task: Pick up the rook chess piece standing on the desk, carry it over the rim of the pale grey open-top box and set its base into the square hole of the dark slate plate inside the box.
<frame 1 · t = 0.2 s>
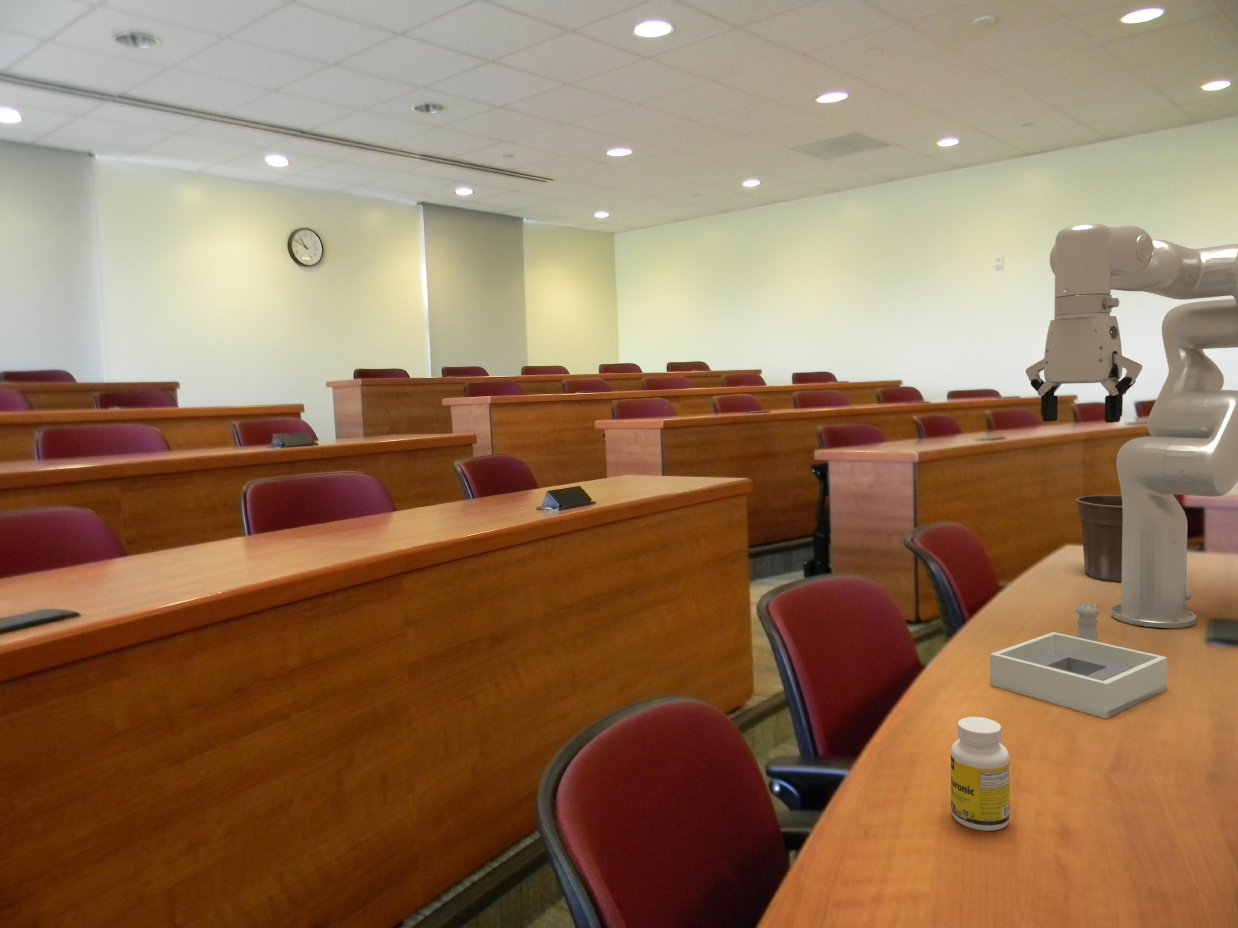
hand: (1080, 421, 134), 36 cm above the table, tool pointing down, fingers open, 9 cm apart
box: (1077, 687, 121), on the table
supplement bottle: (980, 820, 87), on the table
rook chess piece: (1087, 657, 134), on the table
plant pot: (1119, 577, 182), on the table
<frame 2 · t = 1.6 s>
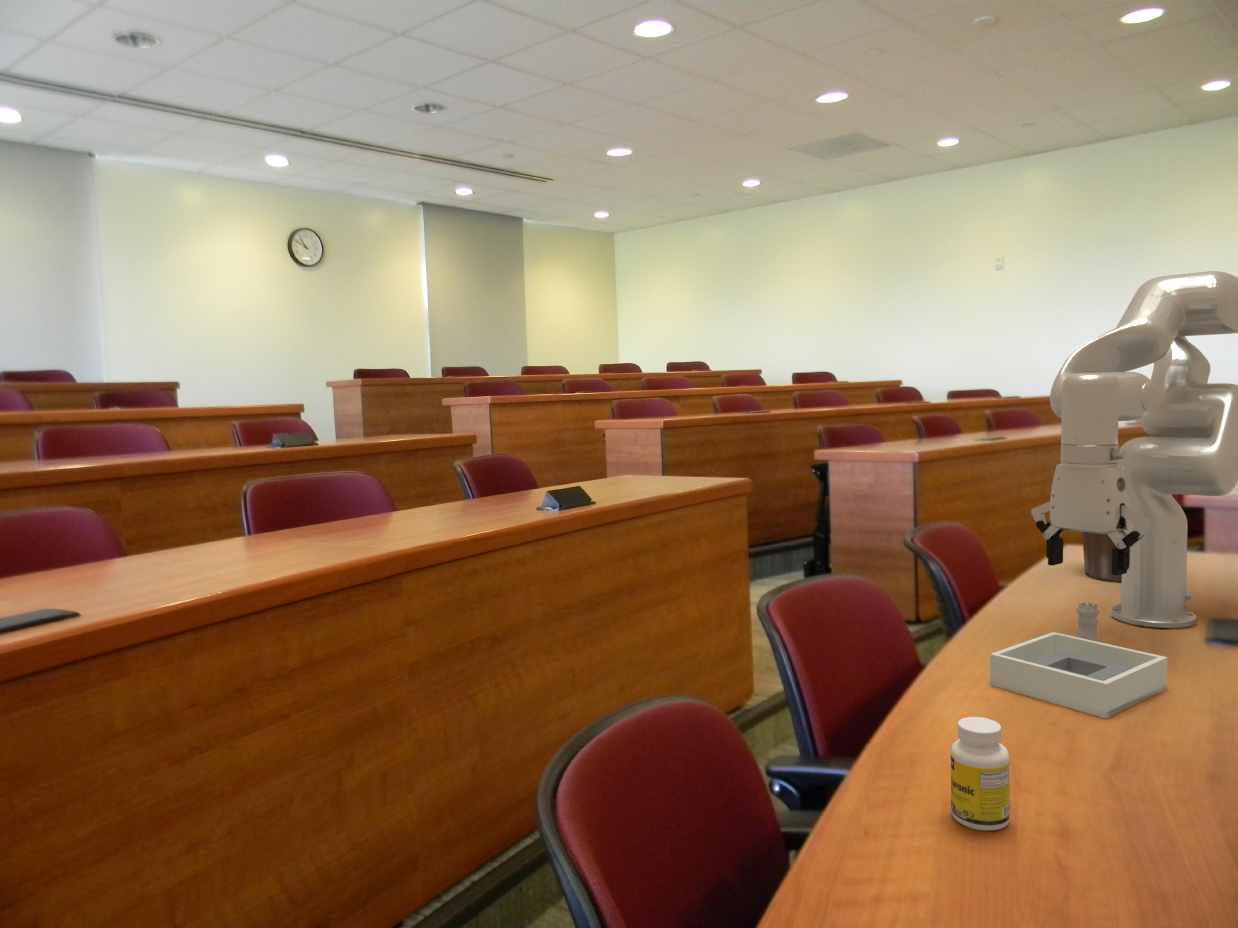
hand: (1086, 569, 132), 14 cm above the table, tool pointing down, fingers open, 9 cm apart
nothing on the table moved.
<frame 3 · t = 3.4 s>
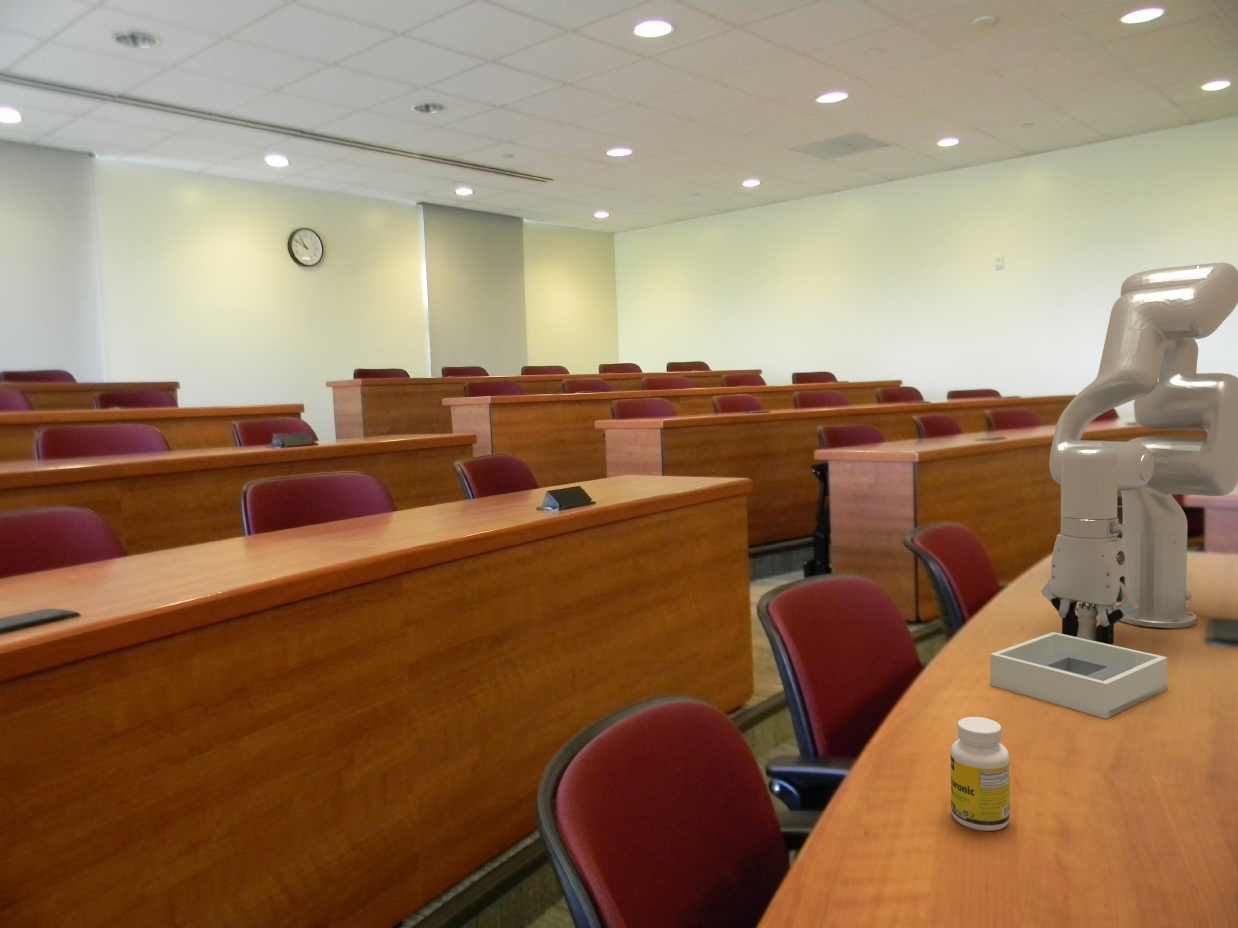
hand: (1087, 644, 134), 2 cm above the table, tool pointing down, fingers closed on rook chess piece, 4 cm apart
rook chess piece: (1087, 657, 134), on the table, touching gripper
everything else where it was.
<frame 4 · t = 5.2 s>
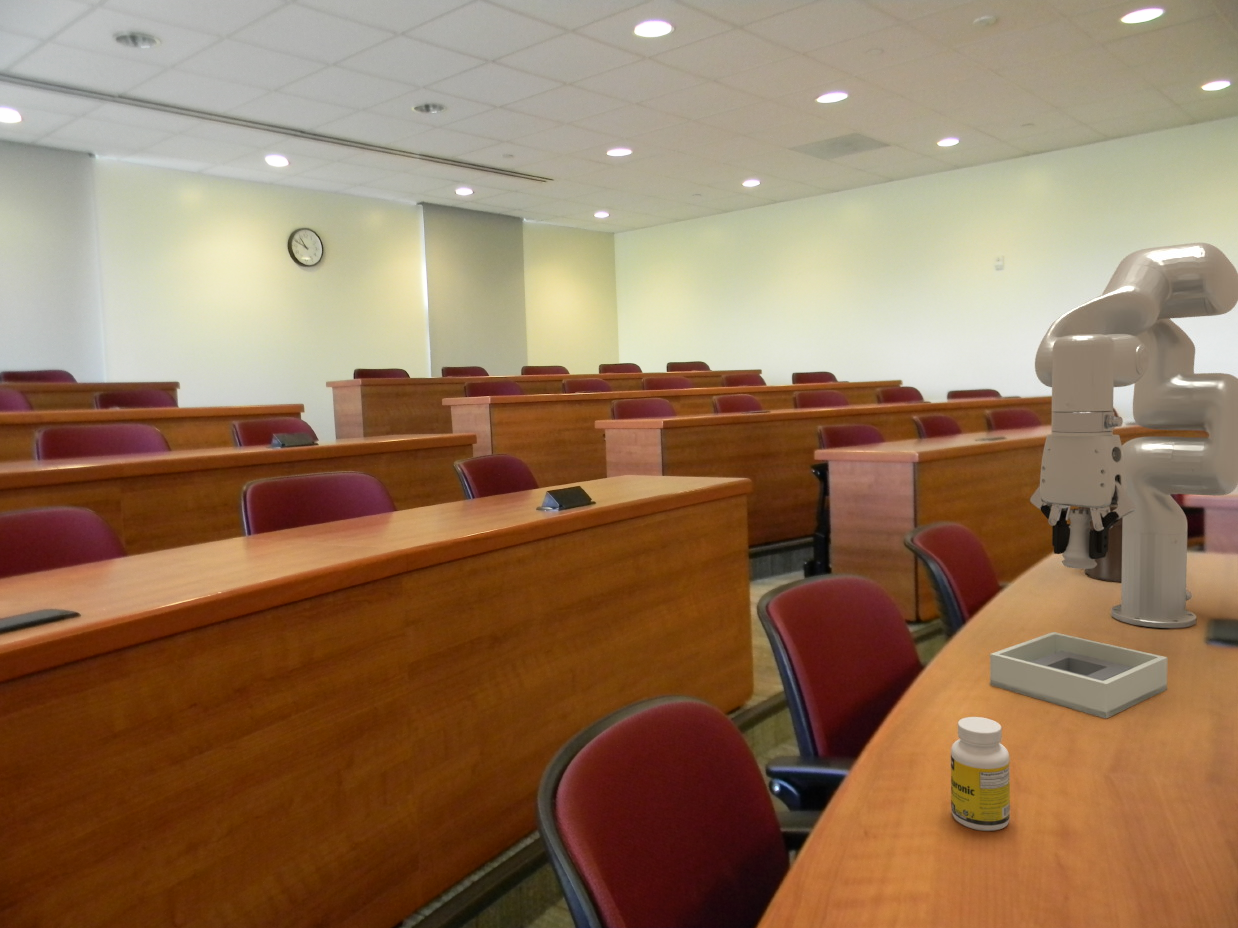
hand: (1079, 553, 122), 18 cm above the table, tool pointing down, fingers closed on rook chess piece, 4 cm apart
rook chess piece: (1079, 567, 122), point 16 cm above the table, touching gripper
everything else where it was.
when the fingers open (4 cm above the table, at t = 7.4 s): rook chess piece drops 1 cm, resting on box.
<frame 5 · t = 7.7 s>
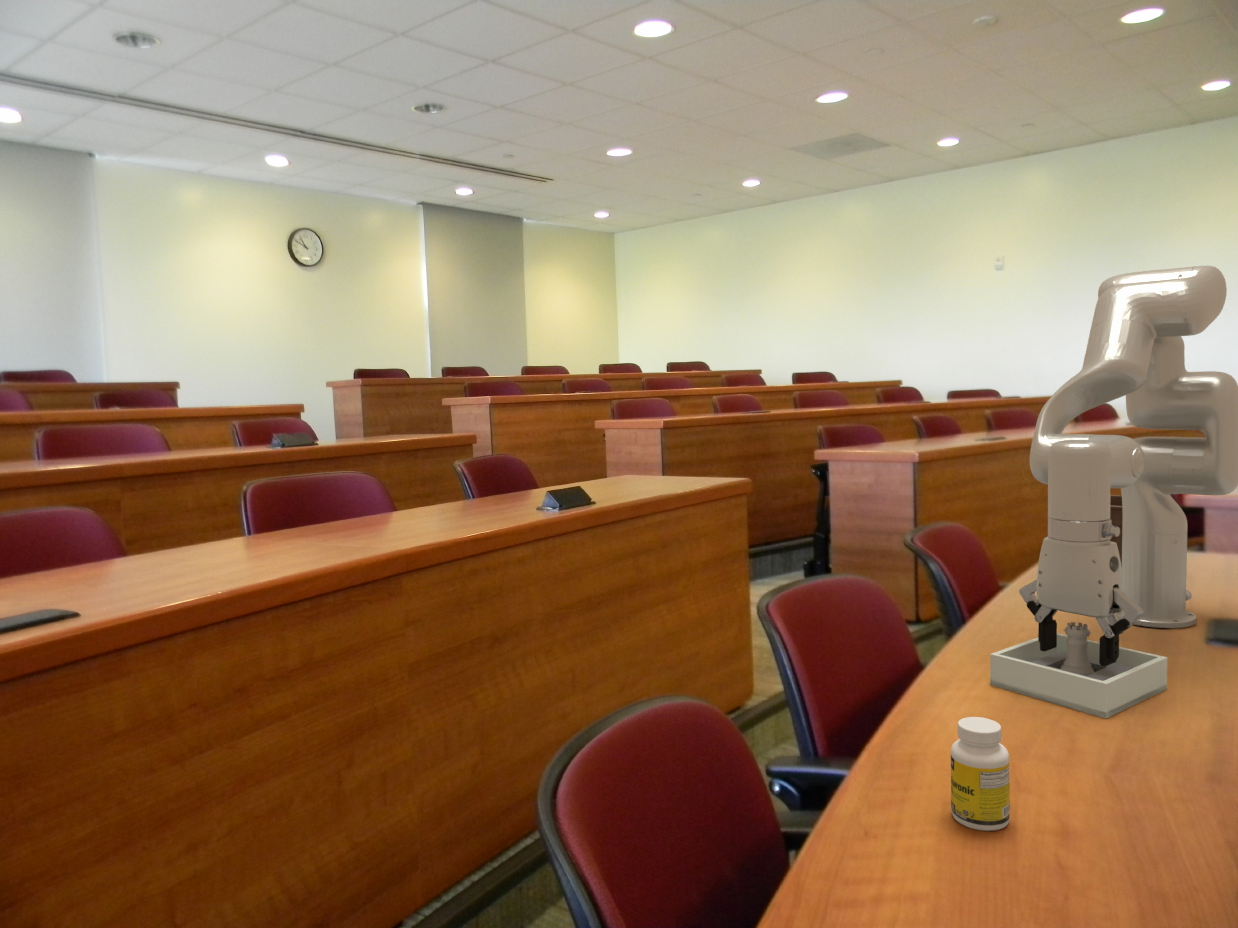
hand: (1077, 655, 121), 5 cm above the table, tool pointing down, fingers open, 7 cm apart
rook chess piece: (1077, 682, 121), point 1 cm above the table, touching box
everything else where it was.
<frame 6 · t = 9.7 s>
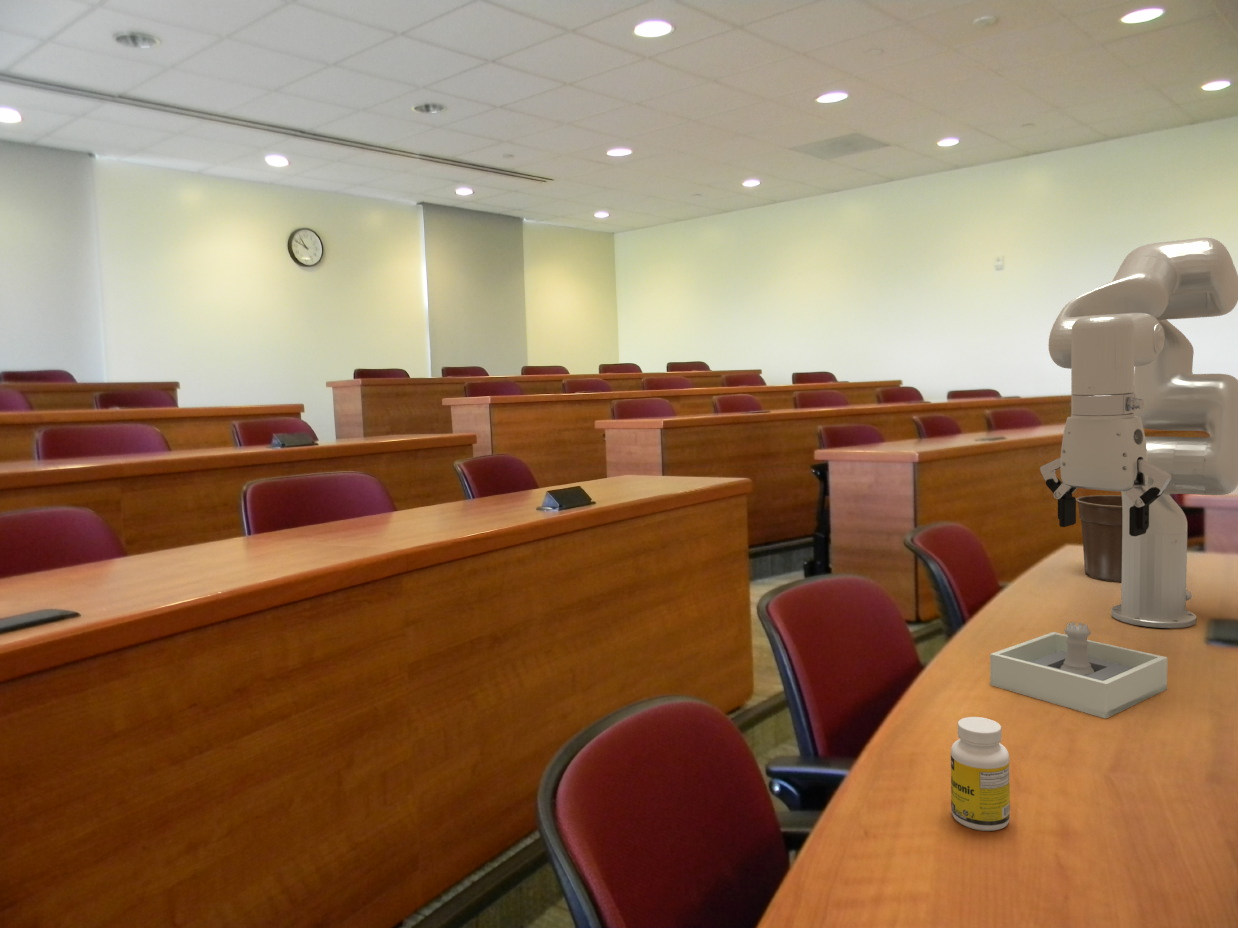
hand: (1101, 529, 121), 22 cm above the table, tool pointing down, fingers open, 9 cm apart
nothing on the table moved.
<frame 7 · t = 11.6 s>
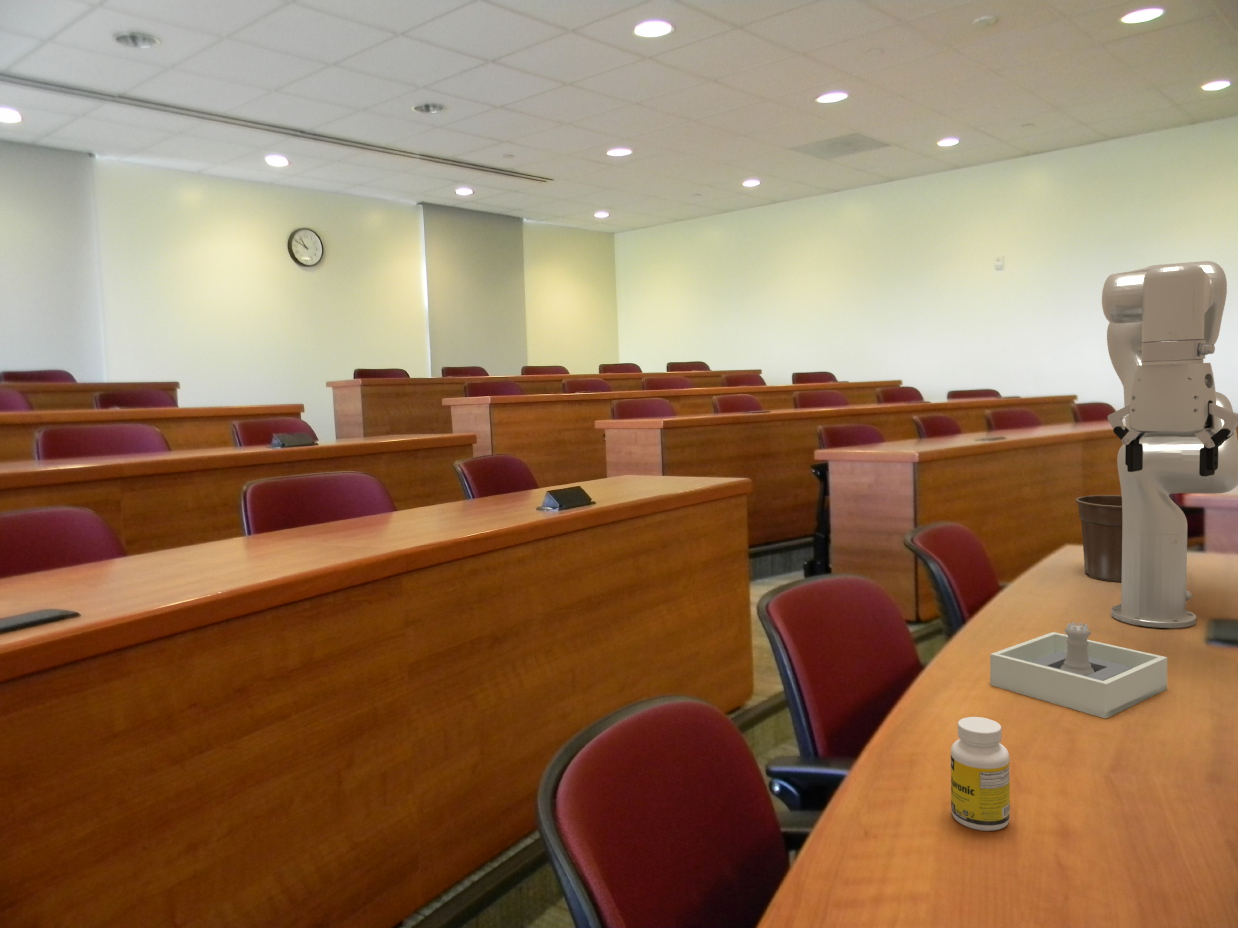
hand: (1169, 473, 126), 28 cm above the table, tool pointing down, fingers open, 9 cm apart
nothing on the table moved.
at the end: rook chess piece 0.1 cm off-centre on the box, point 0.6 cm above the box's base; rook chess piece tilted 0°; the gripper is holding nothing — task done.
